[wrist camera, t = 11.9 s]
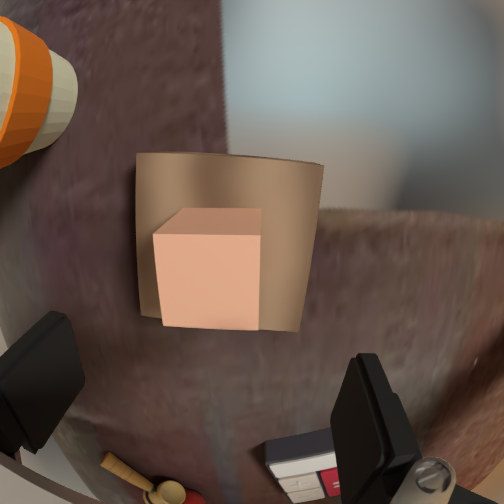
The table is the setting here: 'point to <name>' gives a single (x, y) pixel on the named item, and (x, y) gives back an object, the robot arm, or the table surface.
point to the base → (235, 196)
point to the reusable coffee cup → (31, 93)
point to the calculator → (304, 465)
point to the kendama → (152, 485)
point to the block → (209, 268)
